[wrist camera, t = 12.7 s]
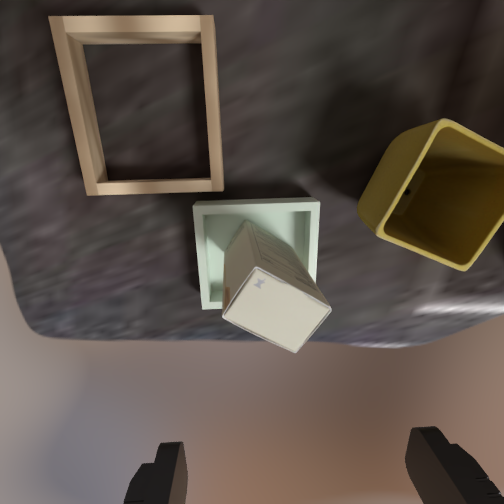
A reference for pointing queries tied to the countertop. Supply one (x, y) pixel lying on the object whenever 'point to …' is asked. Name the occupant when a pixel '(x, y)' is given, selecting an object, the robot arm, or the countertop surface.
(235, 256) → the skincare box
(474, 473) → the robot arm
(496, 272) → the countertop surface
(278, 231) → the parts tray
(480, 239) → the flower pot
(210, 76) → the frame
